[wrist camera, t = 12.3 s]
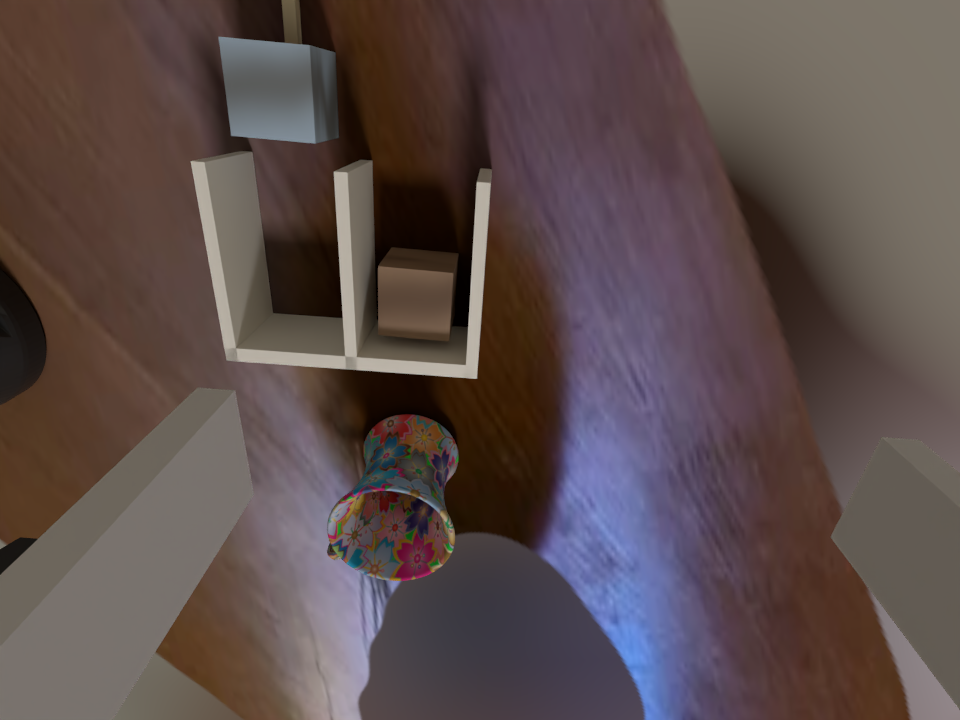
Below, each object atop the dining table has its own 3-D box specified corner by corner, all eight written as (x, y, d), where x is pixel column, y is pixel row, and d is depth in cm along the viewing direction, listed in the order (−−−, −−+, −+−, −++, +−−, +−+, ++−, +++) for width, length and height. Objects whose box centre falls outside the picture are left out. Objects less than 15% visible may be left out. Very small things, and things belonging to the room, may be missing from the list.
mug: (417, 386, 44) (395, 465, 34) (484, 457, 47) (480, 548, 37) (319, 453, 47) (274, 542, 38) (387, 515, 50) (361, 611, 41)
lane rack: (479, 339, 41) (476, 378, 36) (264, 323, 41) (226, 360, 36) (492, 169, 35) (490, 183, 30) (241, 151, 35) (190, 161, 30)
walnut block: (454, 314, 41) (449, 341, 36) (391, 309, 41) (378, 335, 36) (458, 252, 38) (453, 273, 34) (392, 246, 38) (377, 266, 34)
